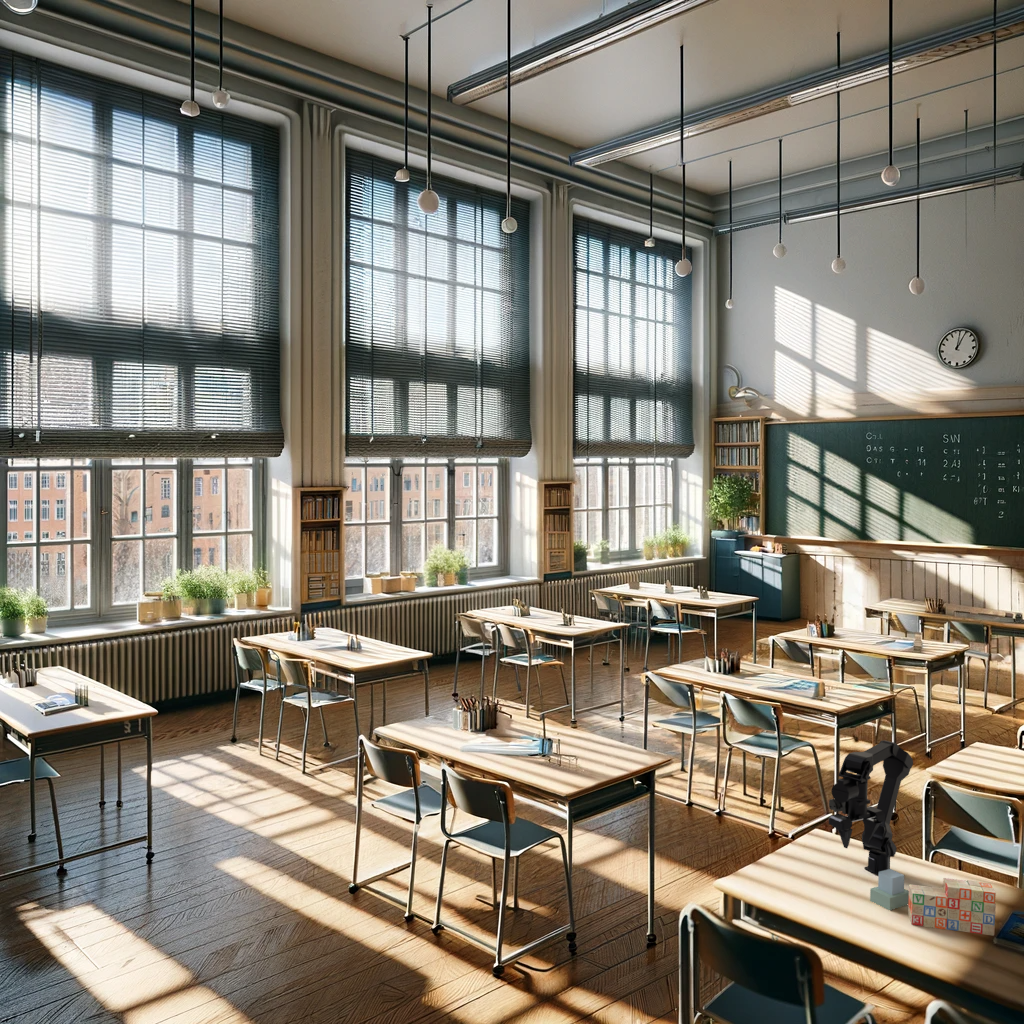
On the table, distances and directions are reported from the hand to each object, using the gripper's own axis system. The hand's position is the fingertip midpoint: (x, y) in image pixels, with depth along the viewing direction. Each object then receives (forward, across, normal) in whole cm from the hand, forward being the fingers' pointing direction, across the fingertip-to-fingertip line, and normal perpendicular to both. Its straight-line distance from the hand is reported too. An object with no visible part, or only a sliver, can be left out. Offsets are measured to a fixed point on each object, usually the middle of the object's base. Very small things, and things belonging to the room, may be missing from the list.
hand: (856, 845), depth 287 cm
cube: (+8, +1, +14) cm, 16 cm away
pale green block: (+12, +1, +14) cm, 19 cm away
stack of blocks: (+12, -3, +31) cm, 34 cm away
